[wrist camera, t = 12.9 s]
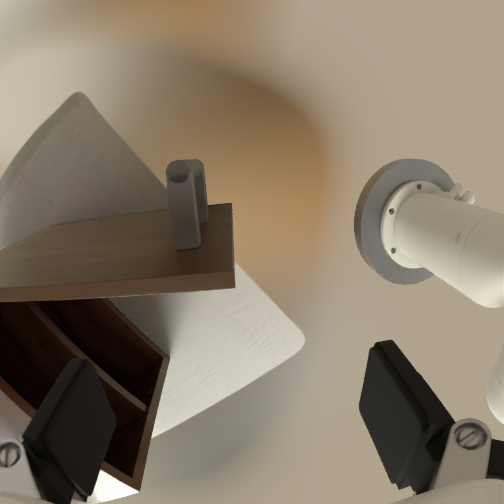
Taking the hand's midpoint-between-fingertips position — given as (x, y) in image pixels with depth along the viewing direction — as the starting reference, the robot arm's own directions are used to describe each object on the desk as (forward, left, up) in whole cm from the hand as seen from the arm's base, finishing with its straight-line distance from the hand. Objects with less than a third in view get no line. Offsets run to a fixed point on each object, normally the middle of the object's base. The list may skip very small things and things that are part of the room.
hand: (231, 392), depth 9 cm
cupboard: (+30, -3, -32) cm, 44 cm away
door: (+8, -11, -31) cm, 34 cm away
